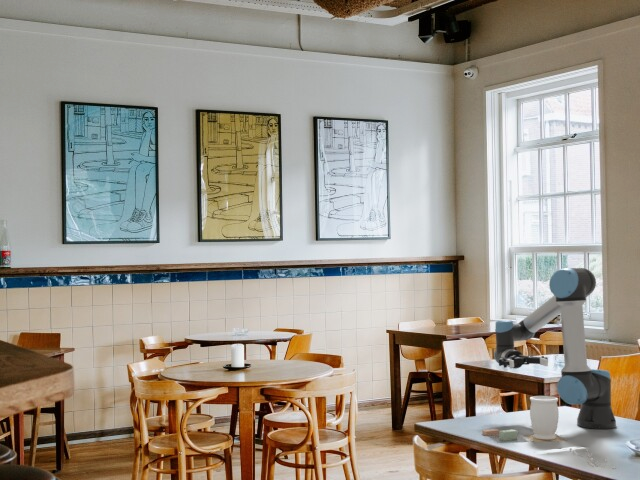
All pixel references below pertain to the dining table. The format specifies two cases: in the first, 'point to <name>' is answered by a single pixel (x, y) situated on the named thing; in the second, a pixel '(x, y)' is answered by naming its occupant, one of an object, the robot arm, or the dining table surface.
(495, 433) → the terracotta brick
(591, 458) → the scattered white crumbs
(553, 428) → the jar
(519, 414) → the dining table surface
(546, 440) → the sand pile
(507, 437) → the sage brick
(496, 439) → the slate board
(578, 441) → the dining table surface
